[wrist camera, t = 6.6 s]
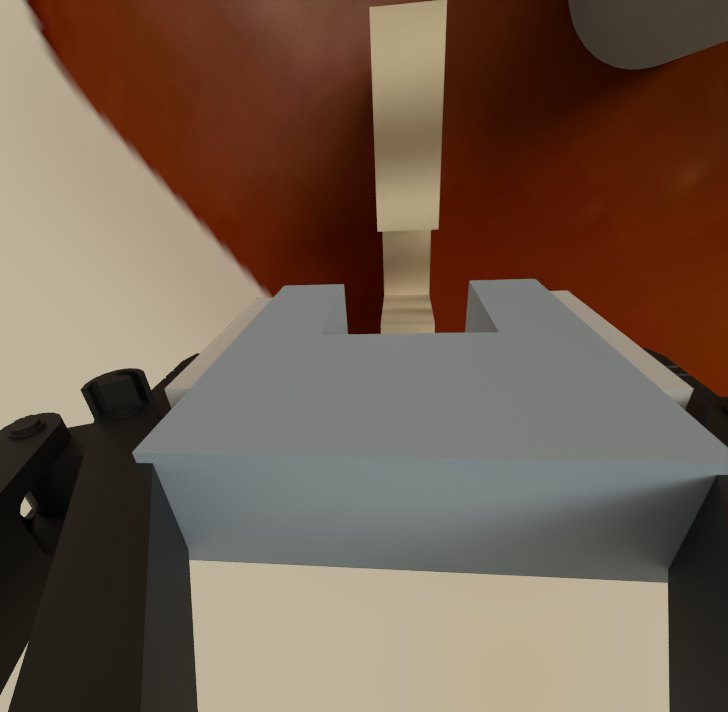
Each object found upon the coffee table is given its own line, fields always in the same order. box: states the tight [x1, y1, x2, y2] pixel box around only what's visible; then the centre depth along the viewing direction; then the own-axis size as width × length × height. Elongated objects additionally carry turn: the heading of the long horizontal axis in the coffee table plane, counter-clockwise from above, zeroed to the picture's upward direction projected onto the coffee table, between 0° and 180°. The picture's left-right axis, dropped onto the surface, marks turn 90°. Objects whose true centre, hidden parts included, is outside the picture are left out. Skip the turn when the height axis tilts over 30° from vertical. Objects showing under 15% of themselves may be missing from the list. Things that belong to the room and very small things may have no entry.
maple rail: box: [369, 0, 447, 334], centre depth 24 cm, size 22×3×10 cm, turn 3°
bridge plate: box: [132, 279, 728, 583], centre depth 11 cm, size 3×10×10 cm, turn 93°
